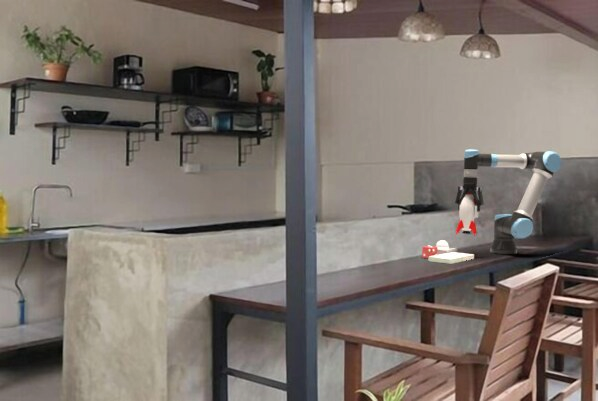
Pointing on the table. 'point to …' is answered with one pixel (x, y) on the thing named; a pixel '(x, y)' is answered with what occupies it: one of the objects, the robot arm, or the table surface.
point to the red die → (428, 251)
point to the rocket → (467, 215)
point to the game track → (451, 257)
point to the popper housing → (446, 251)
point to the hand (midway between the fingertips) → (468, 216)
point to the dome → (442, 245)
